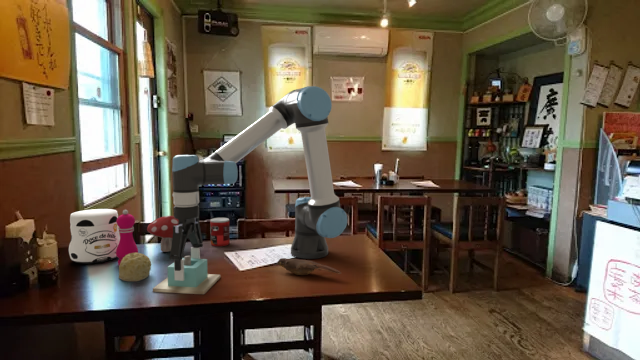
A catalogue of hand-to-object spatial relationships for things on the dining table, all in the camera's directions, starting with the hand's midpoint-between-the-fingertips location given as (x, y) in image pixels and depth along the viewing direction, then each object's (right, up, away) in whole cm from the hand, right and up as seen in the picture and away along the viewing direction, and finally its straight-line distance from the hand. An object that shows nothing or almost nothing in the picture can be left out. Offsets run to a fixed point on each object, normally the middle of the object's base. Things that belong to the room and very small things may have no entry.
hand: (188, 273), depth 124 cm
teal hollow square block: (0, -3, 0) cm, 3 cm away
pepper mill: (-28, -1, +19) cm, 34 cm away
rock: (-20, -3, +6) cm, 21 cm away
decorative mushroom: (-19, 0, +34) cm, 39 cm away
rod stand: (0, -4, 0) cm, 4 cm away
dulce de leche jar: (-42, -1, +23) cm, 48 cm away
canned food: (-2, +1, +46) cm, 47 cm away
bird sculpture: (+37, -3, +10) cm, 38 cm away
